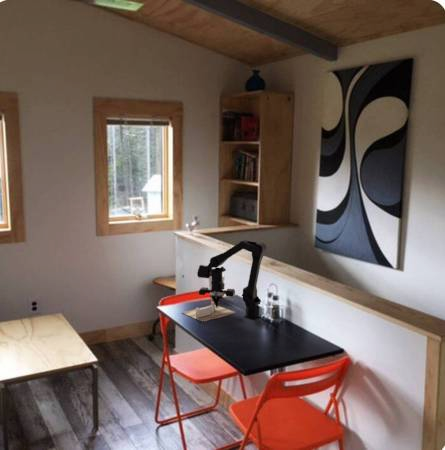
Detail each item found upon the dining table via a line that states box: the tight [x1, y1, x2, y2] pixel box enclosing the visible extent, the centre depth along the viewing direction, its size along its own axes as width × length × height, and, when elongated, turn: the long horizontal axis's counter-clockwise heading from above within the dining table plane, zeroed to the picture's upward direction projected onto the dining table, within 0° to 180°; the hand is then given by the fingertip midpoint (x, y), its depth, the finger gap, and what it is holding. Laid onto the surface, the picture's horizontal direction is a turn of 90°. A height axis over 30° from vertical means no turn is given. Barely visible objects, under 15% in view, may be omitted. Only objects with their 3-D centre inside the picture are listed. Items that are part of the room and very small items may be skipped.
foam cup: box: [207, 274, 225, 299], centre depth 307 cm, size 10×9×13 cm
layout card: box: [181, 304, 237, 323], centre depth 278 cm, size 17×24×1 cm
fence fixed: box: [195, 303, 215, 318], centre depth 272 cm, size 2×12×6 cm, turn 132°
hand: (217, 307), depth 282 cm, fingers closed
